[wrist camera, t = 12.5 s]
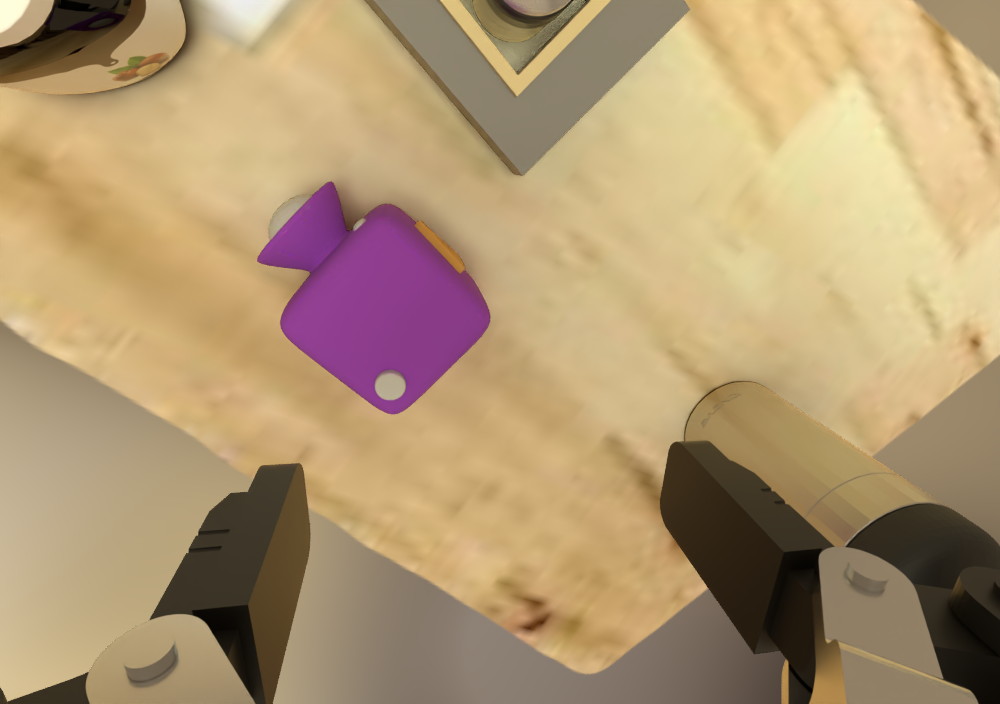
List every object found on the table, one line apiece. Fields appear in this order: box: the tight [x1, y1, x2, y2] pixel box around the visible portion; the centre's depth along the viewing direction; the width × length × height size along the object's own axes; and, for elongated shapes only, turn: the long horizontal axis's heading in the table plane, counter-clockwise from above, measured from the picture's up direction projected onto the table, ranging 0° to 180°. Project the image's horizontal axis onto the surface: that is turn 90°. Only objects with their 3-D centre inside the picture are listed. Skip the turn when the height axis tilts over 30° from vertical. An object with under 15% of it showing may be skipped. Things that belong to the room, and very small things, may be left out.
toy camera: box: [257, 182, 490, 414], centre depth 32 cm, size 11×14×10 cm
